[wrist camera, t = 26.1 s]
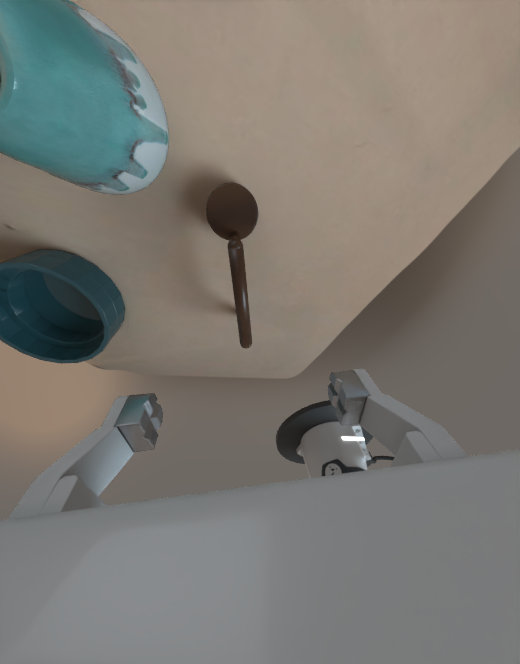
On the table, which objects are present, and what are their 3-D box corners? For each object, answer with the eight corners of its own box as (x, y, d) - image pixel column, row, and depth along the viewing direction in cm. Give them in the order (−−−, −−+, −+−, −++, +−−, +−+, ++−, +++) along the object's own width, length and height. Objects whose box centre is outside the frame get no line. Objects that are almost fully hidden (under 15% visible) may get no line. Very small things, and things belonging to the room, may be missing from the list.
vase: (37, 23, 20) (-514, -415, 5) (177, 65, 22) (65, -160, 7) (70, 180, 26) (-142, 183, 11) (177, 201, 28) (116, 228, 14)
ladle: (204, 184, 28) (194, 187, 20) (254, 181, 28) (262, 182, 21) (226, 319, 38) (224, 353, 31) (262, 316, 38) (269, 348, 31)
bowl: (146, 308, 36) (132, 329, 31) (86, 352, 39) (64, 378, 34) (54, 225, 28) (17, 235, 24) (-10, 288, 32) (-55, 309, 27)
